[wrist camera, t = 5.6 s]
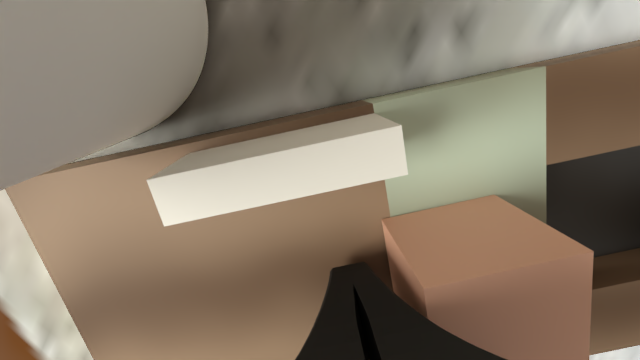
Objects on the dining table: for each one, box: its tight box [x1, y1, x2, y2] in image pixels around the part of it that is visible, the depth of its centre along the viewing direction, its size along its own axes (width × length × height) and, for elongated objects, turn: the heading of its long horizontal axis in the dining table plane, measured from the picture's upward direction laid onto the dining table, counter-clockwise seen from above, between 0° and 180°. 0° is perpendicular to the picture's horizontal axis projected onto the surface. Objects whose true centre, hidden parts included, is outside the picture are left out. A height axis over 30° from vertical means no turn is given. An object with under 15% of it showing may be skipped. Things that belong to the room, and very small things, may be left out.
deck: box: [5, 40, 640, 360], centre depth 13 cm, size 12×24×2 cm, turn 102°
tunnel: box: [147, 113, 408, 227], centre depth 11 cm, size 11×6×3 cm, turn 12°
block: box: [381, 195, 594, 360], centre depth 10 cm, size 4×4×4 cm
